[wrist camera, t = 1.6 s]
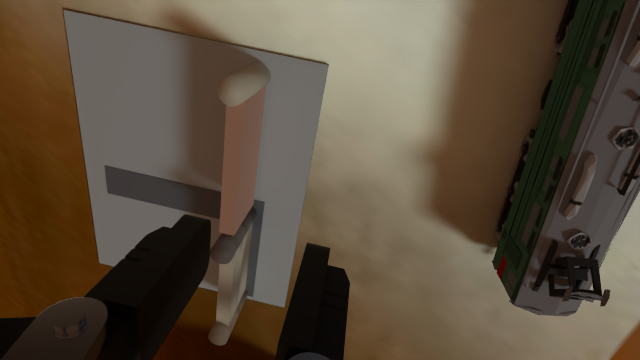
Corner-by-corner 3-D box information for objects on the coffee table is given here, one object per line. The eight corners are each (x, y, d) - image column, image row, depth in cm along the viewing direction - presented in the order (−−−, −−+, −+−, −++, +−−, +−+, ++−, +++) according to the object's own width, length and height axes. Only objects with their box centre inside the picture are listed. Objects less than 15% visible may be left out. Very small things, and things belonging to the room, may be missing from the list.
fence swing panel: (256, 205, 32) (233, 244, 27) (237, 200, 32) (210, 239, 27) (272, 65, 26) (246, 80, 21) (249, 61, 26) (217, 73, 21)
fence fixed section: (239, 201, 33) (210, 243, 27) (257, 206, 33) (232, 248, 27) (231, 296, 38) (205, 347, 32) (247, 299, 38) (224, 352, 32)
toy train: (478, 260, 32) (518, 356, 23) (618, -202, 19) (846, -399, 10) (534, 266, 32) (597, 367, 23) (720, -204, 18) (1060, -412, 9)
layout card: (66, 9, 27) (62, 9, 27) (328, 64, 26) (328, 65, 26) (101, 261, 39) (98, 263, 39) (284, 305, 38) (283, 307, 38)
